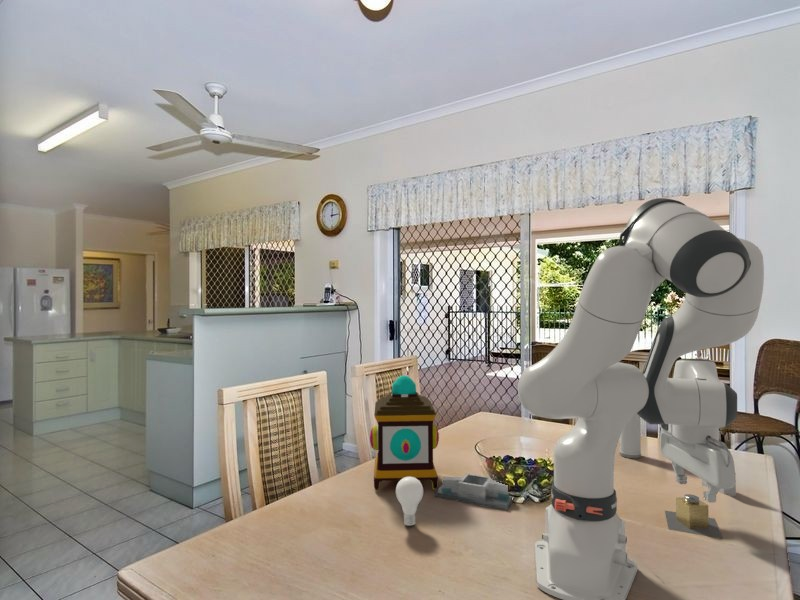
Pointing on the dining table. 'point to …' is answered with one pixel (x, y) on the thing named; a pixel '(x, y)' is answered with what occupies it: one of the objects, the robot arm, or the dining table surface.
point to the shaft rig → (475, 491)
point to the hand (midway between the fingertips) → (694, 491)
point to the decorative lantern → (404, 435)
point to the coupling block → (692, 512)
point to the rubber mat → (678, 526)
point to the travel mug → (631, 439)
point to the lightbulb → (409, 497)
